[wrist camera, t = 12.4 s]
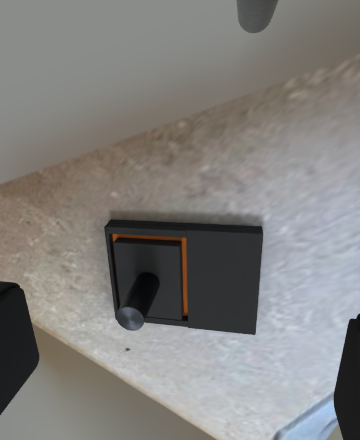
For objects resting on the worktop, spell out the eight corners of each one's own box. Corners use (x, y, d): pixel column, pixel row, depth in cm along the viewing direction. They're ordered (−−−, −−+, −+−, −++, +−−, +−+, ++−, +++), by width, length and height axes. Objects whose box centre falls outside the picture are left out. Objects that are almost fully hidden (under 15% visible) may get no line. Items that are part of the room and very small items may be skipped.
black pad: (117, 237, 34) (86, 272, 28) (181, 240, 33) (165, 278, 26) (125, 306, 38) (99, 353, 31) (183, 312, 36) (169, 362, 30)
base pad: (110, 219, 35) (104, 225, 33) (262, 226, 32) (263, 233, 30) (120, 310, 39) (115, 320, 38) (254, 324, 36) (255, 335, 35)
